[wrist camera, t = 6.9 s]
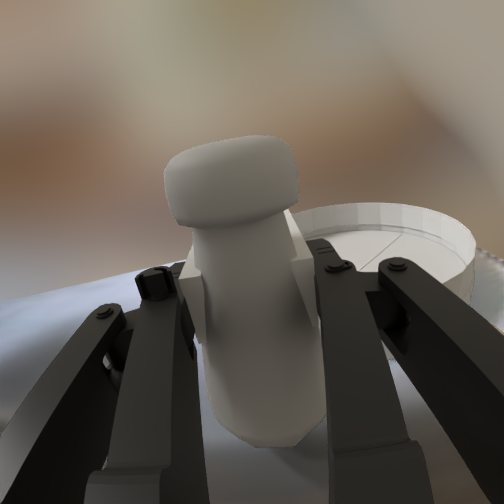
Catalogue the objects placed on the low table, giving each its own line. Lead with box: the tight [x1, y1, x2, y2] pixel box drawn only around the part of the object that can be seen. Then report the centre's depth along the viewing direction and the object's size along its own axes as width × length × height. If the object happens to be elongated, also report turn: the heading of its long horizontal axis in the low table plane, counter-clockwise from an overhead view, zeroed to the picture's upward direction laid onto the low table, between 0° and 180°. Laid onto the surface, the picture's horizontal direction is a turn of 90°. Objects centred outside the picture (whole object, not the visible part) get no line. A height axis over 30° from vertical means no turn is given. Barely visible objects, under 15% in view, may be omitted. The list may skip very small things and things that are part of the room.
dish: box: [291, 203, 476, 360], centre depth 28 cm, size 22×22×5 cm
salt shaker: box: [164, 135, 327, 448], centre depth 12 cm, size 6×6×13 cm
